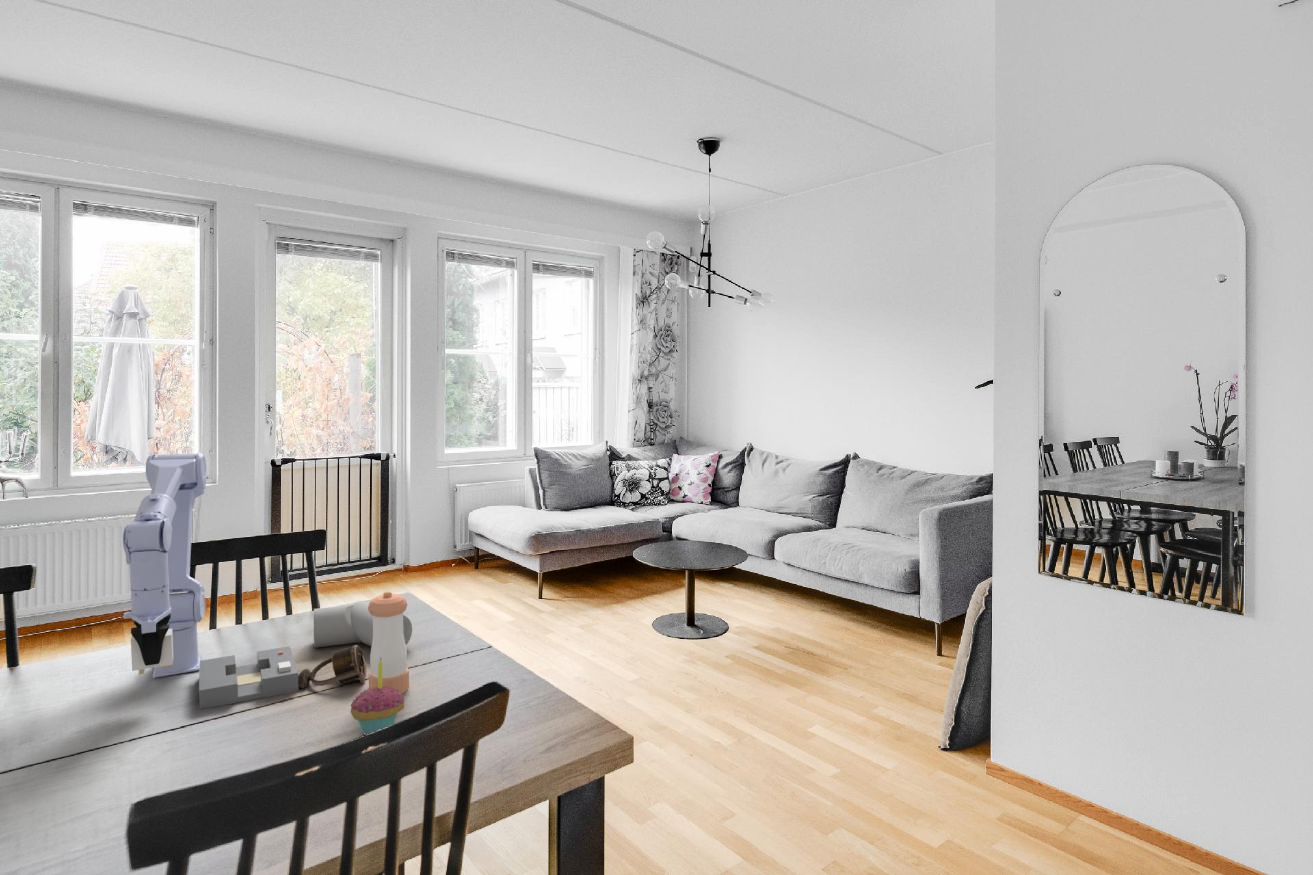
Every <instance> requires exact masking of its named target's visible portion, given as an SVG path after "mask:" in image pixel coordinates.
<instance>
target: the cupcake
mask: <svg viewBox="0 0 1313 875" xmlns="http://www.w3.org/2000/svg"><path fill="white" fill-rule="evenodd" d="M381 658H382V657H380V662H379V666H378V687H375V688H372V689H369V688H367V689H364V690H363V691H362V692H361V691H360V693H359V694H358V695H356V696H355V698H354V699H352V702H351V704H350V707H351V709H350V714H351V716H352V718H353V719H354V720H357V722H358V724H359V725H360V728H361V732H362V734H364V733H365V734H364V735H365V736H367V734H370V733H372V732H376V731H377V730H379V729H383V728H385V727H388V726H390V725H393V726H394V724H395V721H396V719H397V716H398V713H399V712H401V711H403V709H404V708H405V700H404V696H403V693H399V691H397V689H394V688H390V687H384V686H382V668H383V662H381Z"/></svg>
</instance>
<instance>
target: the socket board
mask: <svg viewBox="0 0 1313 875" xmlns="http://www.w3.org/2000/svg"><path fill="white" fill-rule="evenodd" d="M256 653H257V654H256V655H257V658H256V659H257V663H253V664H252V663H251V664H247V665H241V666H237V665H236V656H235V655H233V654H232V655H227V656H222V657H216V658H215V657H214V658H208V659H201V661H200V670H199V674H198V675H199V681H198V684H199V685H198V686H199V687H198V696H199V697H198V698H199V710H204V709H209V708H216V707H219V706H225V705H230V704H235V703H236V704H237V703H241V702H246V701H251V700H257V699H260V698H261V699H262V698H267V697H272V696H279V695H283V694H288V693H295V692H298V691H299V685H298V675H299V672H298V668H297V666H296V665H297V664H296V661H295V659H294V655H293V652H292V649H291V646H289V645H288V646H283V647H278V648H270V649H264V650H258V651H257V652H256Z"/></svg>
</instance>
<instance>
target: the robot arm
mask: <svg viewBox="0 0 1313 875" xmlns="http://www.w3.org/2000/svg"><path fill="white" fill-rule="evenodd" d="M145 476H146V480H147V482H148V484H149V486H150V489H151V492H150V494H149V495H147V496H145V497H143V498H142V500H141V501H140V504H139V507H138V508H137V512H136V515H135V518H134V519H133V521H131V522H130V523H129V524H126V525H125V526H124V528H123V533H122V545H123V546H122V547H123V551H124V553H125V563H126V565H128V566H129V584H130V585H129V586H130V603H131V604H130V607H131V611H127V612H124V613H123V619H125V620H126V619H132V620H133V624H134V625H135V626H133V627H131V629H130V634H131V637H132V636H133V637H134V639H135V640H136V641H137V643H138V645H139V648H140V651H141V654H142V658H143V661H144V664H145V666H148V665H154V664H159V662H160V658H161V652H162V645H163V640H164V637H165V635H166V633H167V631H168V629H172V634H173V665H171V667H168V668H162V669H161V666H160V667H154V668H153V673H152V678H154V679H155V678H161V677H167V676H172V675H179V674H184V673H190V672H196V671H200V661H202V659H201V658H202V653H199V649H198V647H199V646H198V645H199V644H198V641H199V640H198V623H200V622H201V621H202V620H203V619H204V617H205V614H206V597H205V587H204V585H203V583H202V582H200V581H199V580H197V579H196V578H193V577H191V576H190V572H191V569H190V568H191V554H192V553H191V551H192V534H193V533H192V532H193V531H192V530H193V515H194V514H193V513H194V512H193V511H194V506H195V502H196V498H198V497H200V496H203V495H204V494H205V489H206V486H207V484H206V483H207V460H206V457H205V455H204V454H203V453H202V452H197V453H175V454H174V453H172V454H168V453H167V454H166V453H165V454H155V453H152V454H150V455H149V456H148V457H147V459H146V462H145Z"/></svg>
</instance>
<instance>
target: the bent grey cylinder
mask: <svg viewBox="0 0 1313 875" xmlns="http://www.w3.org/2000/svg"><path fill="white" fill-rule="evenodd" d="M369 603H370V602H366V601H364V600H358V601H357V600H356V602H355V603H353V604H351V605H348V604H347V605H339V606H331V607H330V606H329V607H321V608H313V645H314V648H315V649H317V648H321V647H322V648H323V647H332V646H340V645H349V644H357V643H364V644H365V645H366V646H370V648H371V647H372V640H373V615H371V614H370V613H369V610H368V606H369ZM403 634H404V639H405V645H406V646H407V645H408V644H409V641H410V640H411V638H412V634H413V624H412V622H411V620H410V619H409V617H407V616H406V615H404V614H403Z"/></svg>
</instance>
